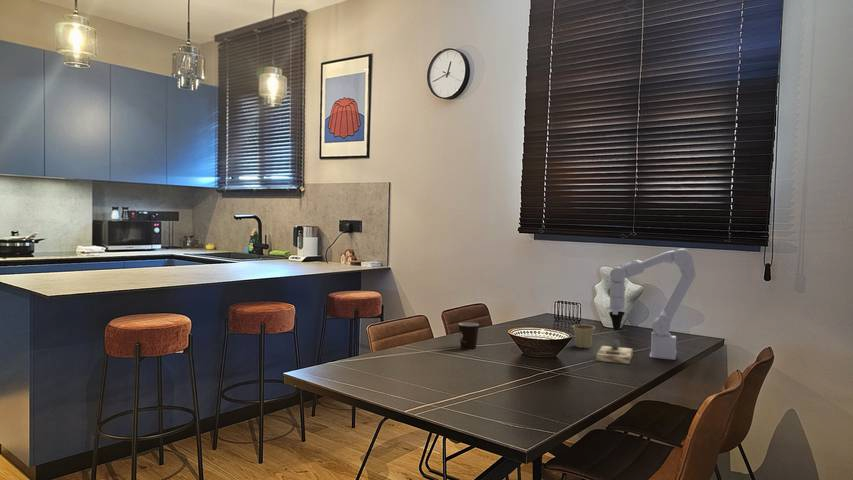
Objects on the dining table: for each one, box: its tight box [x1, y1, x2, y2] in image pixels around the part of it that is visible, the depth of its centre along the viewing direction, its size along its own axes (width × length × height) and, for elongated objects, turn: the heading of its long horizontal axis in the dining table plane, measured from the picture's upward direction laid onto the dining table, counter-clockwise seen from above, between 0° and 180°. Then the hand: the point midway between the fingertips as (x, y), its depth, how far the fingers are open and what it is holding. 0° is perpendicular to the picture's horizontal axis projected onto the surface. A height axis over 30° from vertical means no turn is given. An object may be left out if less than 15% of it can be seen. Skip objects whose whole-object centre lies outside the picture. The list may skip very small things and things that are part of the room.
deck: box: [595, 345, 634, 364], centre depth 232 cm, size 12×17×2 cm
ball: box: [610, 339, 621, 349], centre depth 237 cm, size 4×4×4 cm
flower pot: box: [571, 324, 596, 349], centre depth 251 cm, size 9×9×9 cm
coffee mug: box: [458, 322, 480, 350], centre depth 248 cm, size 12×9×10 cm
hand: (616, 329), depth 241 cm, fingers closed
